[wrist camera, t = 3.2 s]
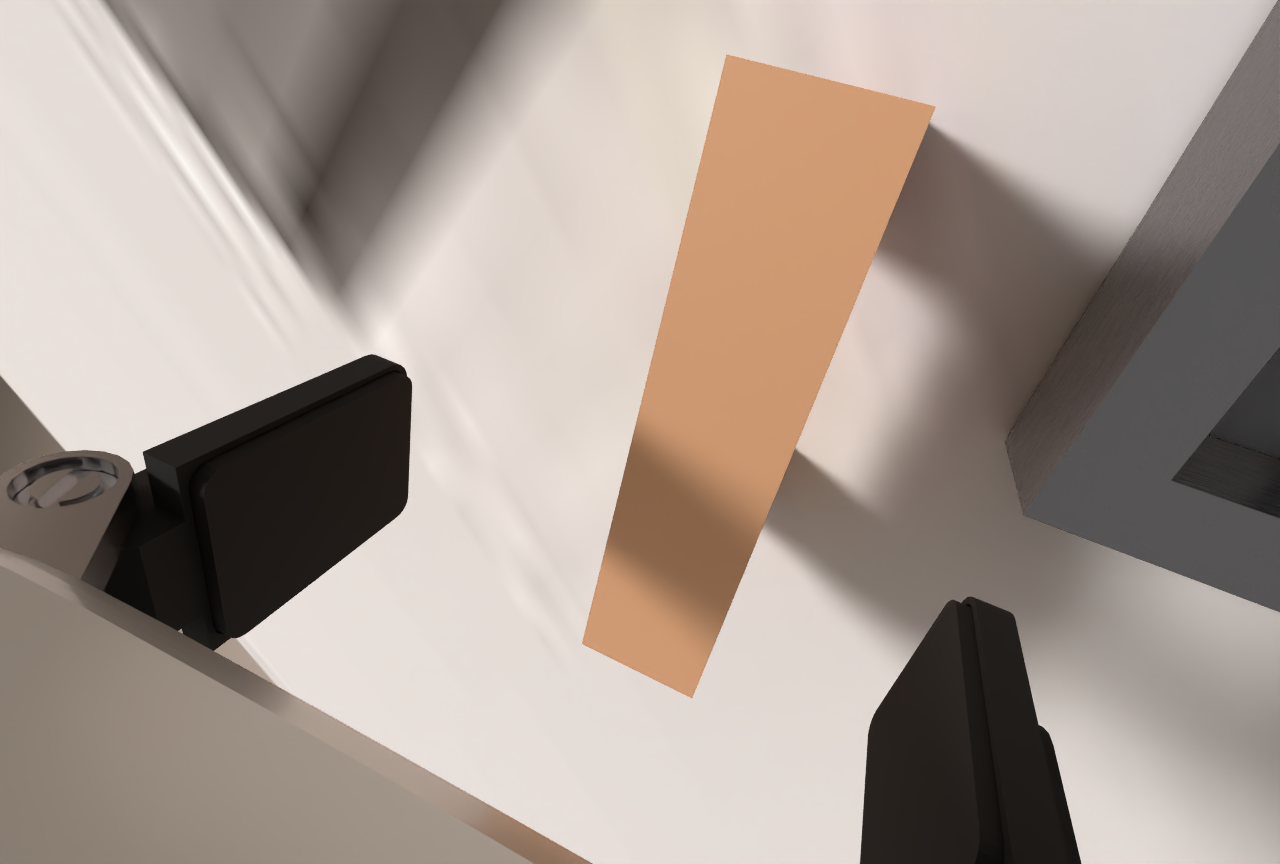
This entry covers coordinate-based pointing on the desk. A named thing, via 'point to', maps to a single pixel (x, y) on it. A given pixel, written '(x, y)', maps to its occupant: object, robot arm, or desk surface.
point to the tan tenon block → (743, 348)
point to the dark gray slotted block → (1176, 363)
